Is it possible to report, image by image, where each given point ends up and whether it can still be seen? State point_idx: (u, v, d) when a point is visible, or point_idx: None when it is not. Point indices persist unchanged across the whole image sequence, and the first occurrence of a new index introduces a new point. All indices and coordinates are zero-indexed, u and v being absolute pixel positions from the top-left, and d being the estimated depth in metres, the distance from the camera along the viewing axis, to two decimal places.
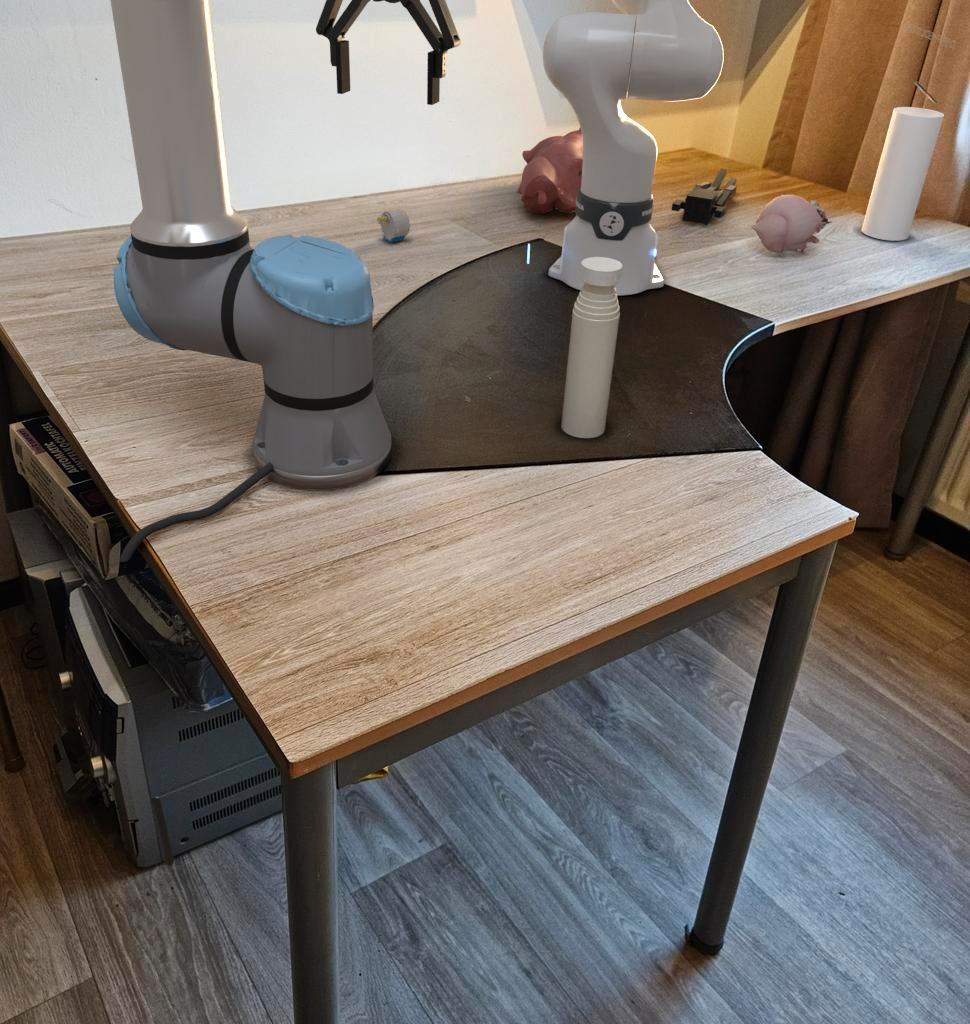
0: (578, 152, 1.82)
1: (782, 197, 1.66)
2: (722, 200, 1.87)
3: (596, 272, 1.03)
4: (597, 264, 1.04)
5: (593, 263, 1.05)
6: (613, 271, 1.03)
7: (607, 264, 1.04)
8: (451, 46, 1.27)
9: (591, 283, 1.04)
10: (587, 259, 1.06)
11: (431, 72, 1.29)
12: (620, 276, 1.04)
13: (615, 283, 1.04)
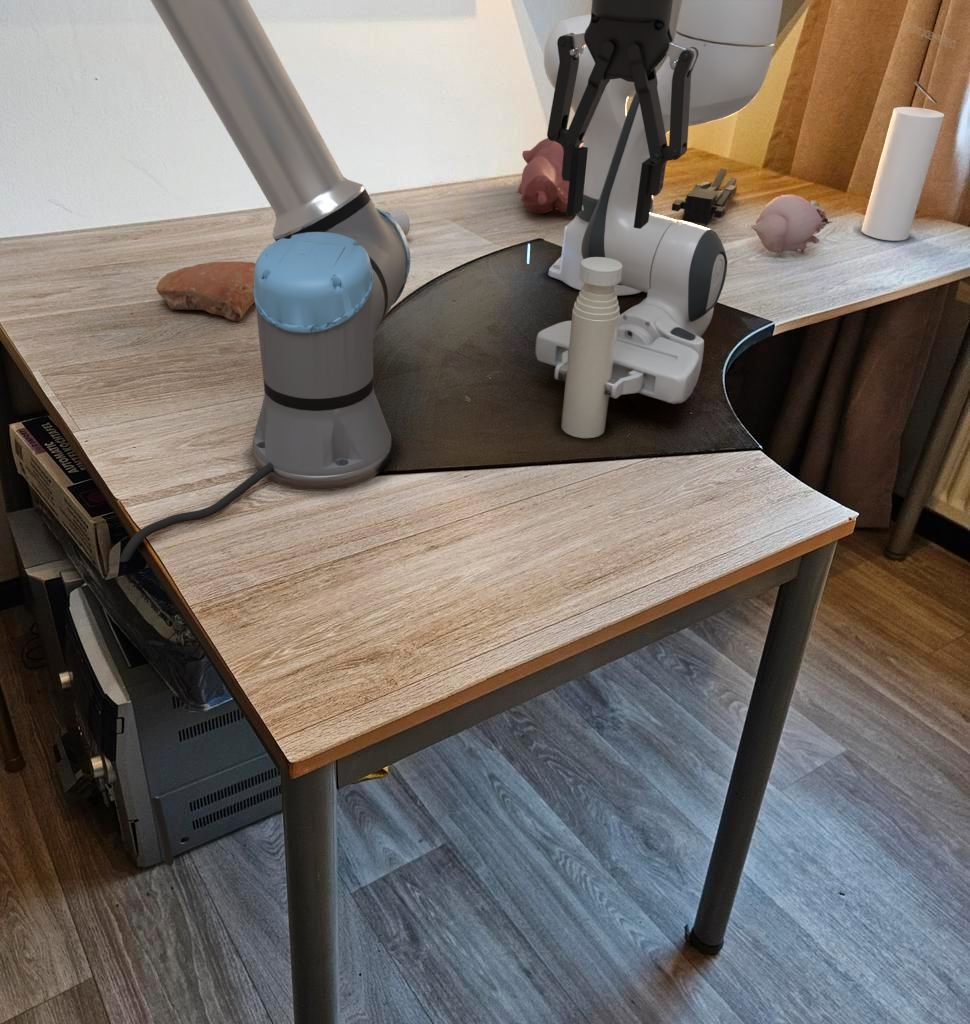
0: None
1: (782, 197, 1.66)
2: (722, 200, 1.87)
3: (596, 272, 1.03)
4: (597, 264, 1.04)
5: (593, 263, 1.05)
6: (613, 271, 1.03)
7: (607, 264, 1.04)
8: None
9: (591, 283, 1.04)
10: (587, 259, 1.06)
11: None
12: (620, 276, 1.04)
13: (615, 283, 1.04)
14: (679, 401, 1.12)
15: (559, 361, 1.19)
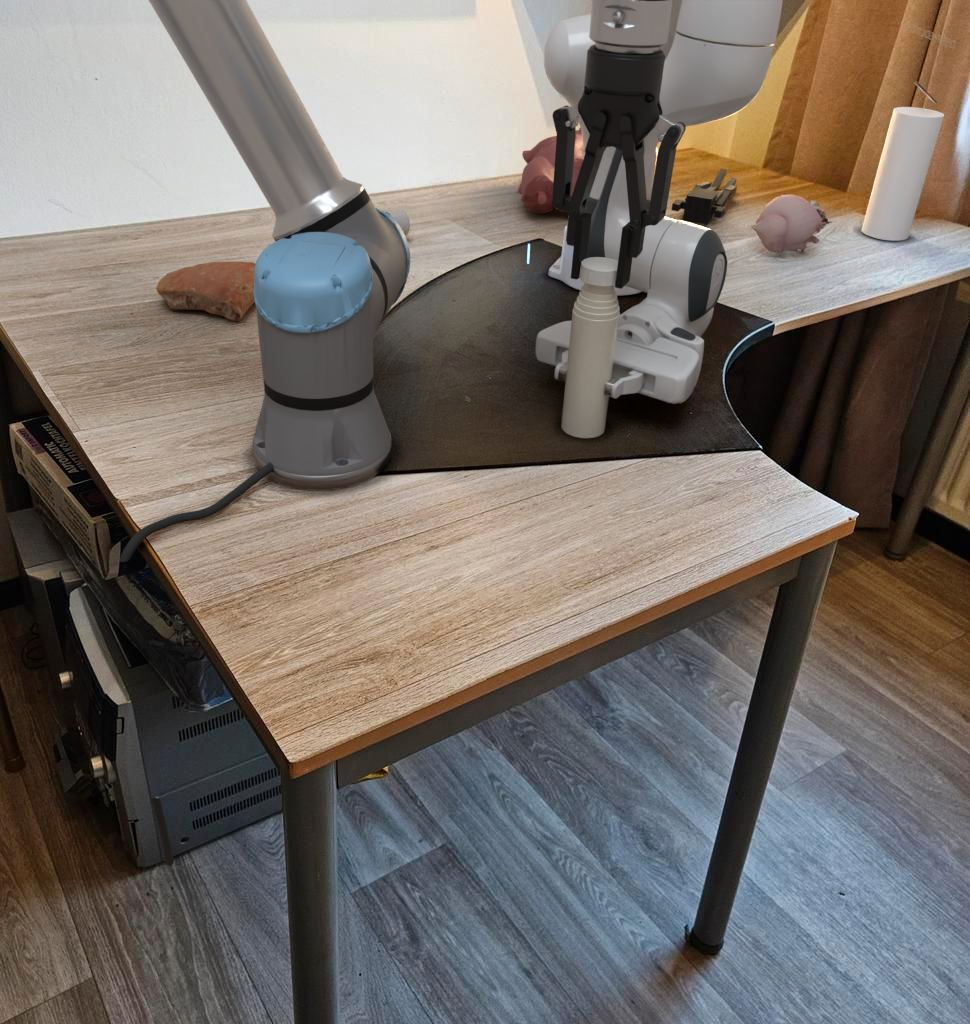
0: (578, 152, 1.82)
1: (782, 197, 1.66)
2: (722, 200, 1.87)
3: (596, 272, 1.03)
4: (597, 264, 1.04)
5: (593, 263, 1.05)
6: (613, 271, 1.03)
7: (607, 264, 1.04)
8: None
9: (591, 283, 1.04)
10: (587, 259, 1.06)
11: None
12: None
13: None
14: (679, 401, 1.12)
15: (559, 361, 1.19)
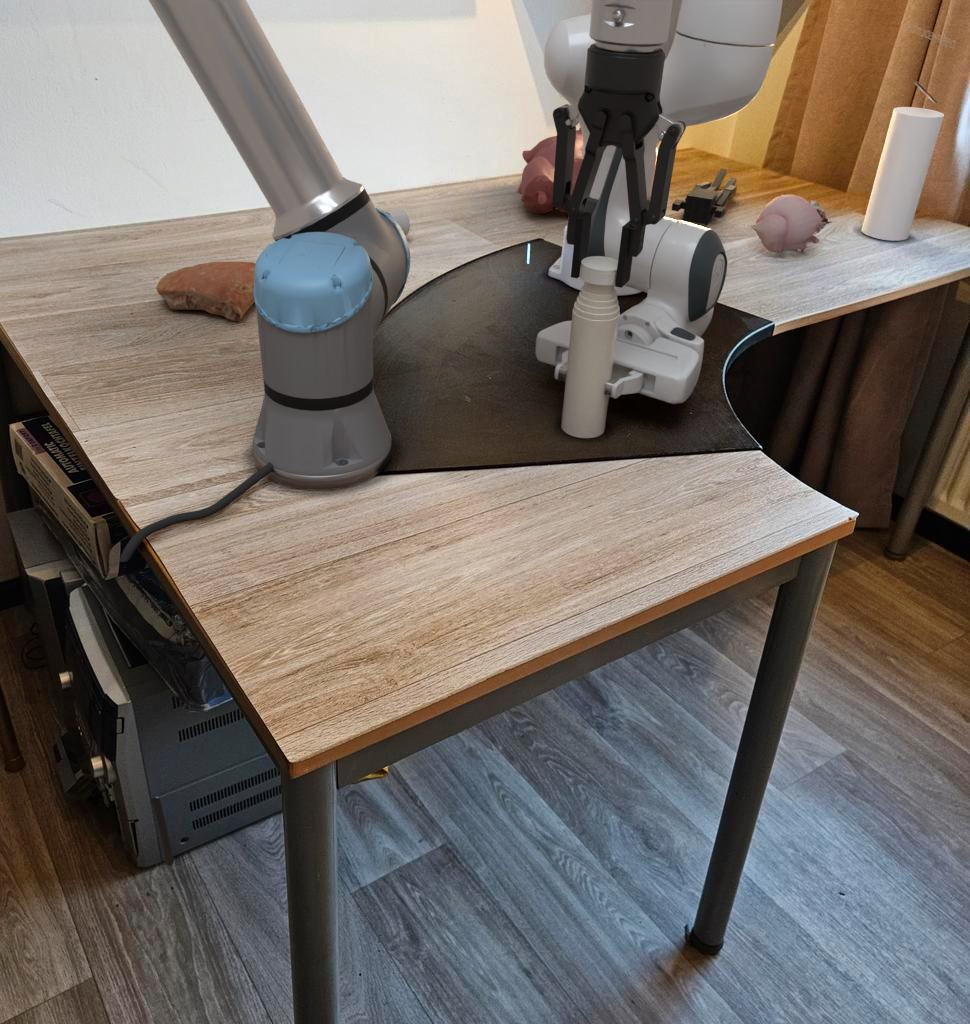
0: (578, 152, 1.82)
1: (782, 197, 1.66)
2: (722, 200, 1.87)
3: None
4: (604, 264, 1.04)
5: (602, 265, 1.04)
6: None
7: (602, 261, 1.05)
8: None
9: None
10: (591, 267, 1.03)
11: None
12: None
13: None
14: (679, 401, 1.12)
15: (559, 361, 1.19)
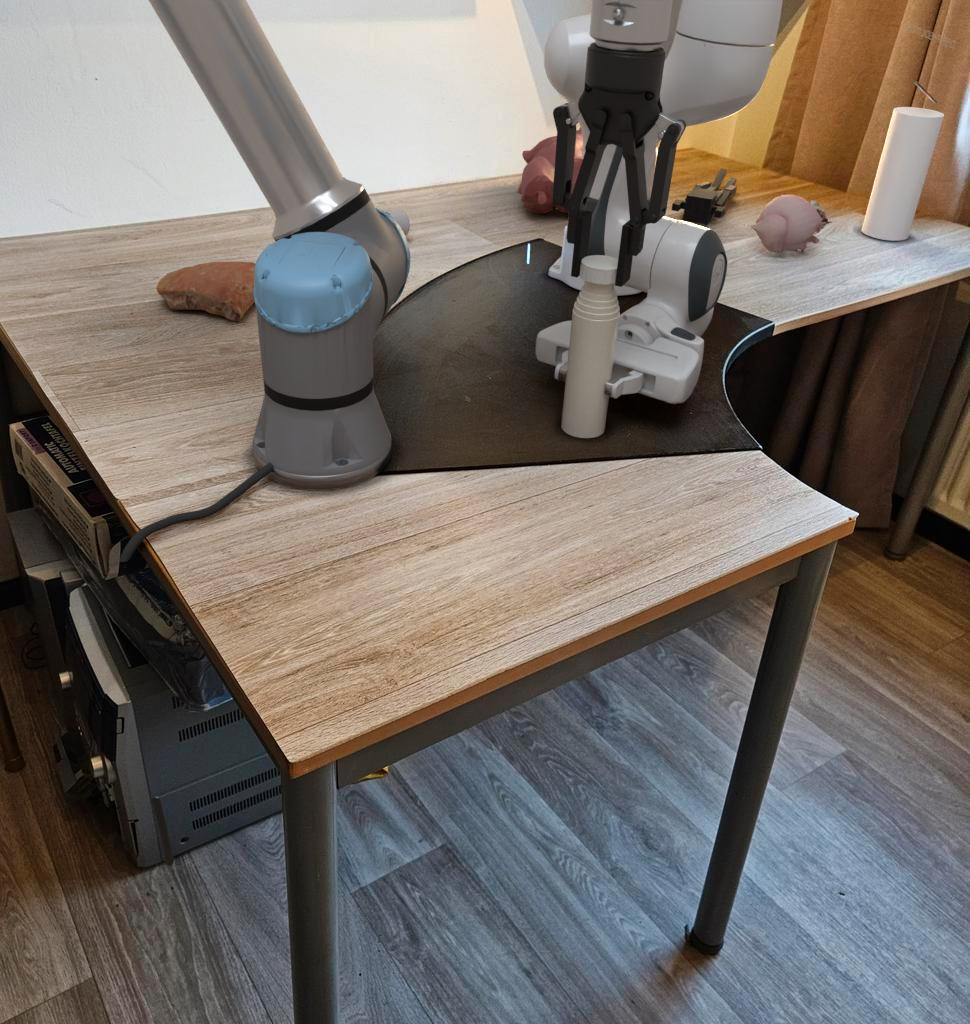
0: (578, 152, 1.82)
1: (782, 197, 1.66)
2: (722, 200, 1.87)
3: None
4: (606, 261, 1.05)
5: (610, 262, 1.04)
6: None
7: (596, 261, 1.05)
8: None
9: None
10: (615, 266, 1.03)
11: None
12: None
13: None
14: (679, 401, 1.12)
15: (559, 361, 1.19)
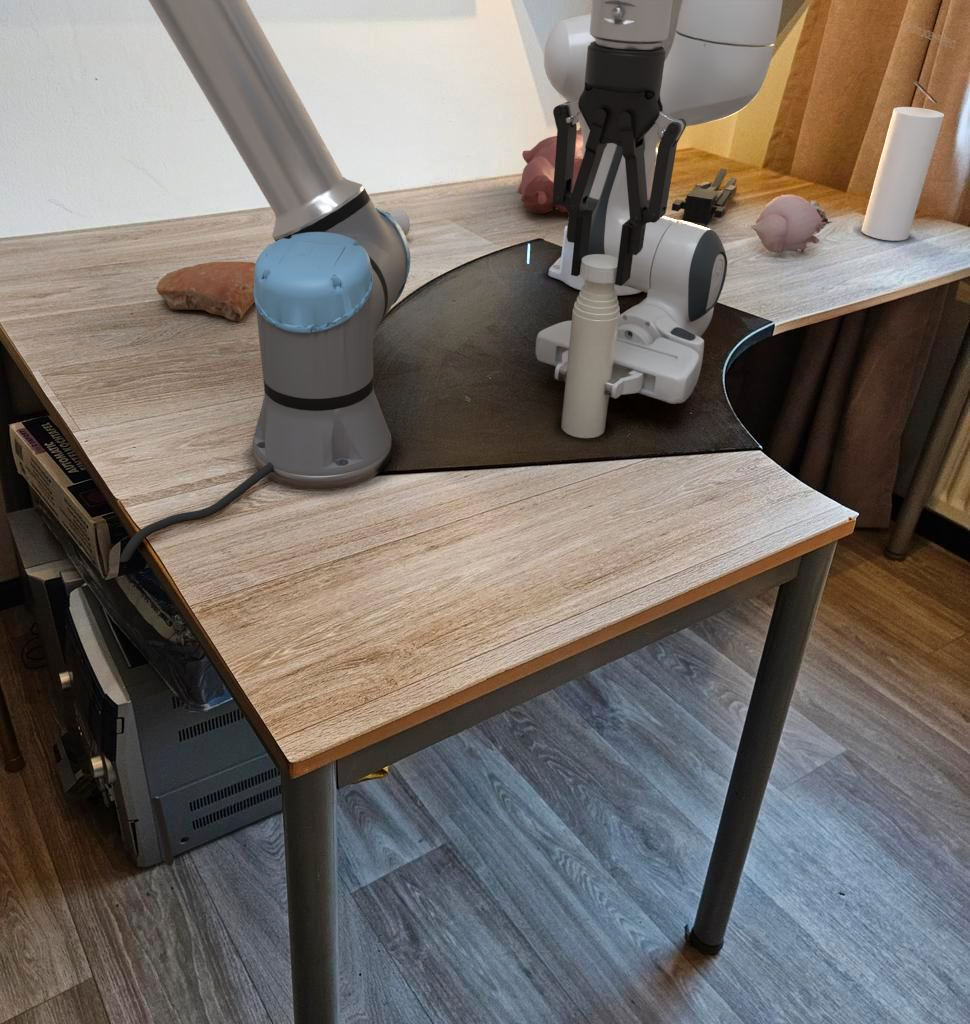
0: (578, 152, 1.82)
1: (782, 197, 1.66)
2: (722, 200, 1.87)
3: None
4: (600, 259, 1.05)
5: (602, 258, 1.05)
6: (583, 263, 1.04)
7: (601, 262, 1.04)
8: None
9: None
10: (613, 257, 1.05)
11: None
12: (592, 275, 1.03)
13: (584, 277, 1.04)
14: (679, 401, 1.12)
15: (559, 361, 1.19)
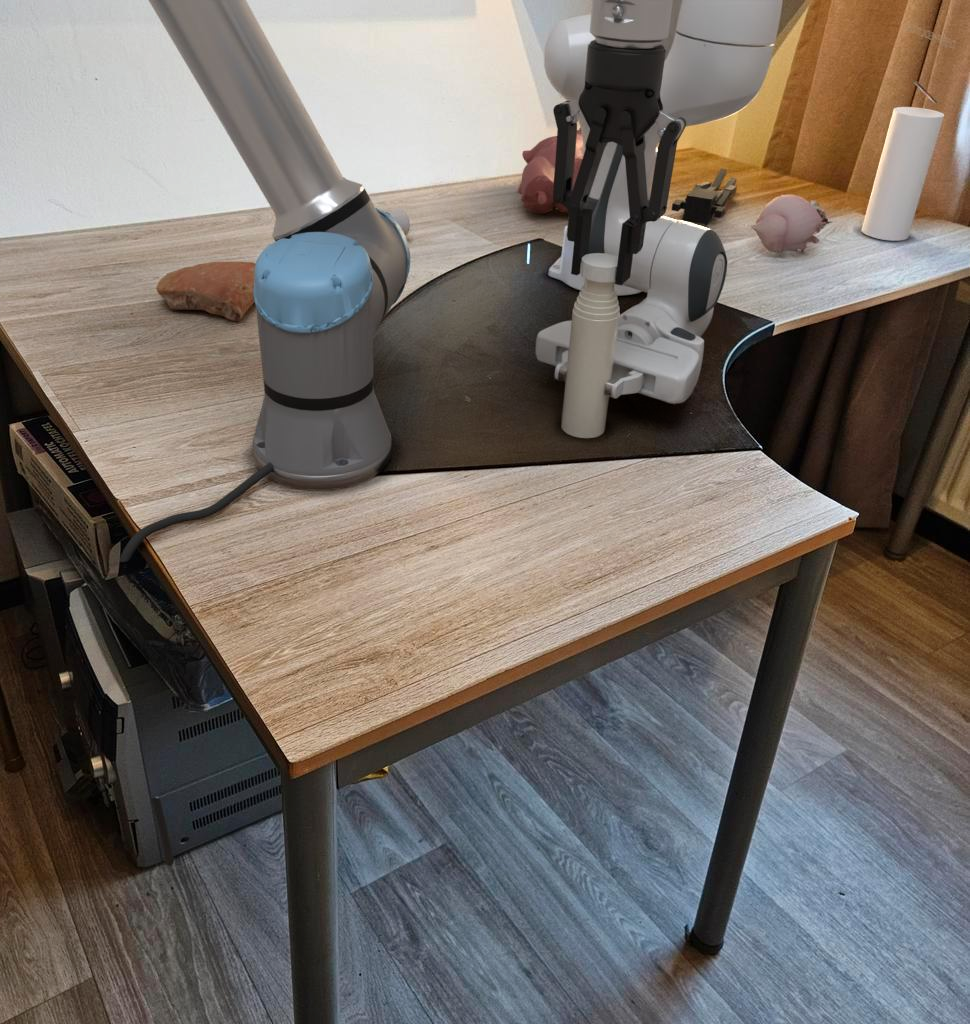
0: (578, 152, 1.82)
1: (782, 197, 1.66)
2: (722, 200, 1.87)
3: (593, 267, 1.03)
4: (597, 260, 1.04)
5: (593, 259, 1.04)
6: (610, 267, 1.03)
7: (607, 260, 1.04)
8: None
9: (588, 278, 1.04)
10: (589, 254, 1.05)
11: None
12: None
13: (613, 280, 1.04)
14: (679, 401, 1.12)
15: (559, 361, 1.19)
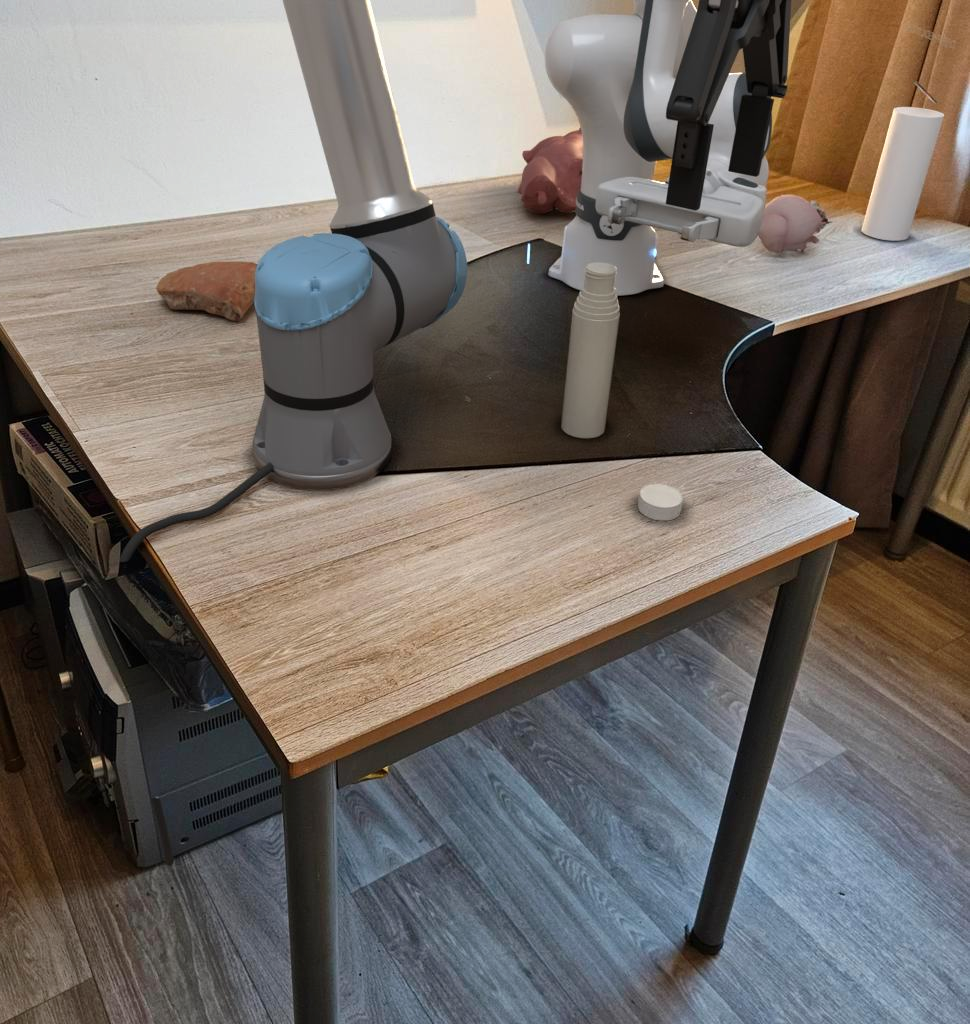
0: (578, 152, 1.82)
1: (782, 197, 1.66)
2: None
3: None
4: (666, 495, 1.01)
5: (669, 497, 1.01)
6: (654, 484, 1.03)
7: (655, 493, 1.01)
8: None
9: None
10: (673, 504, 1.00)
11: (674, 151, 0.77)
12: None
13: None
14: (744, 243, 1.12)
15: None
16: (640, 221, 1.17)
